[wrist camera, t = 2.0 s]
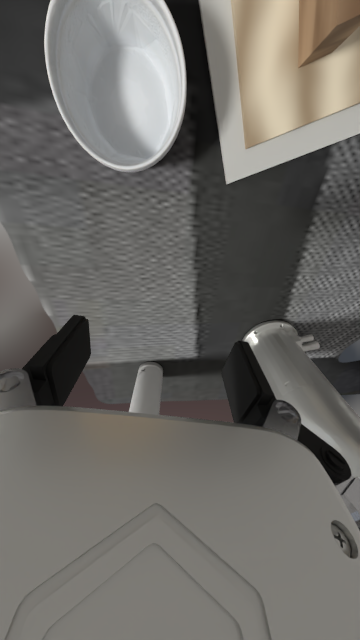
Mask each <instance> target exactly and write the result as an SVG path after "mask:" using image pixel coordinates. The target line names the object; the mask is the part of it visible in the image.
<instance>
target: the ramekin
mask: <svg viewBox="0 0 360 640" xmlns="http://www.w3.org/2000/svg"><path fill="white" fill-rule="evenodd" d="M44 46H45V59H46V67H47V72H48V77H49V81H50V85H51V89H52V92H53V95H54V98H55V101H56V104H57V106H58V109H59V111H60V113H61V115H62V117H63V119H64V121H65V123H66V125H67V127H68V128H69V130H70V131H71V133H72V134H73V136H74V137H75V139H76V140H77V141H78V142H79V144H80V145H81V146H82V147H83V148H84V149H85V150H86V151H87V152H88V153H89V154H90V155H91V156H93V157H94V158H95V159H96V160H98V161H99V162H101V163H102V164H104V165H106V166H108V167H110V168H112V169H115V170H118V171H123V172H138V171H142V170H145V169H147V168H149V167H151V166H153V165H155V164H156V163H157V162H159V161H160V160H161V159H162V158H163V157H164V156H165V155H166V154H167V152H168V151H169V150H170V148H171V147H172V145H173V143H174V142H175V140H176V138H177V135H178V133H179V131H180V128H181V125H182V121H183V117H184V112H185V106H186V91H187V81H186V66H185V58H184V53H183V48H182V43H181V39H180V36H179V32H178V30H177V27H176V24H175V21H174V19H173V17H172V14H171V12H170V10H169V8H168V6H167V5H166V3H165V1H164V0H51V1H50V4H49V8H48V12H47V18H46V24H45V37H44Z"/></svg>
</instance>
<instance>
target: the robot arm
mask: <svg viewBox="0 0 360 640" xmlns="http://www.w3.org/2000/svg"><path fill="white" fill-rule="evenodd" d="M312 340H314V337H313V335H312V334H310V335H305V336H302V337H300V336H298V333H297V331H296V329H295V328H294V327H293V326H292V325H290V324H289V323H287V322H284V321H278V320H273V321H267V322H263V323H261V324H259V325H257V326H255V327H253V328H252V329H251V330H250V331H249V332H248V333H247V334H246V335H245V337H244V338H243V341H238V342H236V343H235V344H234V346H233V348H232V350H231V352H230V354H229V357H228V359H227V361H226V363H225V365H224V367H223V369H222V378H223V381H224V385H225V389H226V393H227V397H228V401H229V405H230V409H231V413H232V416H233V420H234V423H231V422H222V421H213V420H203V419H194V418H184V417H174V416H164V415H154V414H144V413H133V412H123V411H112V410H101V409H91V408H78V407H64V406H63V405H64V403H65V401H66V399H67V398H68V396H69V394H70V392H71V390H72V388H73V387H74V385H75V383H76V381H77V379H78V377H79V376H80V374H81V372H82V370H83V369H84V367H85V365H86V363H87V361H88V360H89V358H90V354H91V348H90V335H89V322H88V319H86V318H85V317H84V316H78V315H73V316H72V317H71V318H70V320H69V321H68V322H67V323H66V324H65V325H64V326H63V327H62V329H61V330H60V331H59V332H58V333H57V334H55V335H53V336H52V337H51V338H50V339H49V340H48V341H47V342H46V343H45V344H44V345H43V346H42V347H41V349H40V350H39V351H38V352H37V353H36V354H35V355H34V356H33V357H32V358H31V359H30V361H29V362H28V363H27V364H26V365H25V366H24V367H23V368H22V369H9V370H4V371H2V372H0V640H360V417H359V416H358V415H357V414H356V413H355V411H354V410H353V409H352V408H351V407H350V406H349V405H348V404H347V402H346V401H345V400H344V399H343V398H342V397H341V395H340V394H339V393H338V392H337V390H336V389H335V388H334V387H333V386H332V384H331V383H330V382H329V381H328V380H327V378H326V377H325V376H324V375H323V374H322V373H321V371H320V370H319V369H318V368H317V367H316V365H315V364H314V363H313V362H312V361H311V359H310V358H309V357H308V356H307V355H306V353H305V351H309V350H310V351H311V350H316V349H319V348H320V345H319V343H318V342H317V341H316V340H315V341H312ZM308 341H310V342H308ZM302 342H307V343H304V344H302Z"/></svg>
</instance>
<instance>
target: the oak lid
mask: <svg viewBox="0 0 360 640" xmlns="http://www.w3.org/2000/svg"><path fill="white" fill-rule="evenodd" d="M231 8H232V18H233V28H234V38H235V49H236V59H237V69H238V79H239V89H240V100H241V110H242V120H243V130H244V140H245V149H248V148H250V147H253V146H255V145H258V144H260V143H263V142H265V141H268V140H270V139H272V138H275V137H277V136H280V135H282V134H285V133H287V132H290V131H292V130H295V129H297V128H300V127H302V126H305V125H307V124H310V123H312V122H314V121H317V120H319V119H322V118H324V117H327V116H329V115H332V114H334V113H337V112H339V111H342V110H344V109H347V108H349V107H352V106H354V105H356V104H359V103H360V0H231Z"/></svg>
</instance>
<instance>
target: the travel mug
mask: <svg viewBox="0 0 360 640" xmlns="http://www.w3.org/2000/svg"><path fill="white" fill-rule="evenodd" d="M162 376H163V368H162V367H161V366H160V365H159V364H158V363H155V362H145V363H143V364H142V365H141V366H140V367H139V371H138V375H137V379H136V384H135V388H134V392H133V396H132V401H131V405H130V410H129V412H133V413H144V414H154V415H159V409H160V398H161V388H162Z"/></svg>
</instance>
